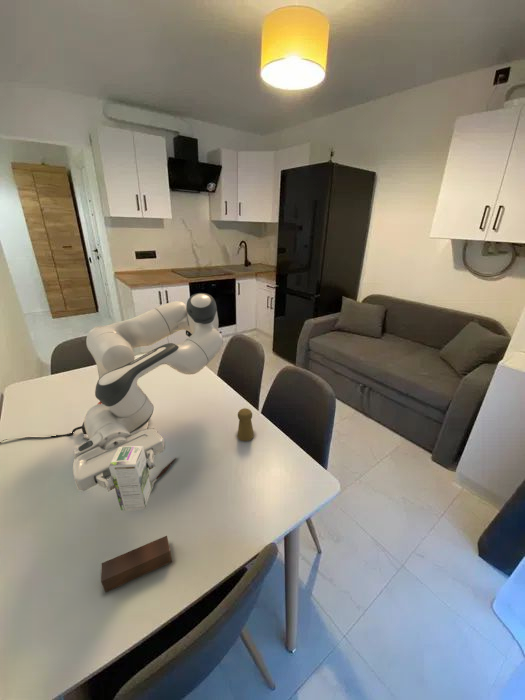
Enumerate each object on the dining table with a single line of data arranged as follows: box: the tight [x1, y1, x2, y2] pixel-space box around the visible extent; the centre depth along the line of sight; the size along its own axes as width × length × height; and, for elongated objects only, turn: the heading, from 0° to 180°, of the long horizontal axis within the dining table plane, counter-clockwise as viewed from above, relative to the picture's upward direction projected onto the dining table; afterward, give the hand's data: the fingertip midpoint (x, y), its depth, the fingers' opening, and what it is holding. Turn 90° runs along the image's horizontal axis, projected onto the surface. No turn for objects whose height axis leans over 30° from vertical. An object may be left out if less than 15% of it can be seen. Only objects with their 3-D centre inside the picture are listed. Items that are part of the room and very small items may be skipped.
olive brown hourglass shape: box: [237, 407, 255, 442], centre depth 104 cm, size 6×6×11 cm
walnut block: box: [100, 535, 173, 593], centre depth 66 cm, size 14×4×4 cm, turn 116°
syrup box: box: [109, 446, 153, 511], centre depth 67 cm, size 6×6×14 cm
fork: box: [151, 457, 177, 490], centre depth 89 cm, size 3×16×2 cm, turn 156°
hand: (132, 476), depth 66 cm, fingers closed on syrup box, 8 cm apart
